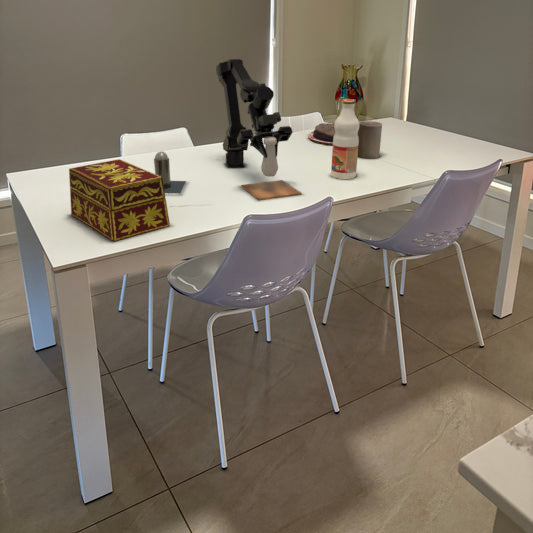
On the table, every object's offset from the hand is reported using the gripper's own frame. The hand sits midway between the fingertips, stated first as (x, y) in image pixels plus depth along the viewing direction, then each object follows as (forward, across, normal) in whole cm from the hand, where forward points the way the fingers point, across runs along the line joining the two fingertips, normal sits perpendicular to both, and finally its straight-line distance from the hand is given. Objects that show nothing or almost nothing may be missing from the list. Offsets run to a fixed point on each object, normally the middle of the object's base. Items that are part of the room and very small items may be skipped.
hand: (271, 157), depth 199 cm
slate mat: (-3, -34, +21) cm, 40 cm away
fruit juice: (+4, +33, +14) cm, 36 cm away
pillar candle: (-12, +57, +30) cm, 65 cm away
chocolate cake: (-33, +60, +52) cm, 86 cm away
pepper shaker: (-4, -34, +20) cm, 40 cm away
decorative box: (+15, -54, +3) cm, 56 cm away
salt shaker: (+4, 0, +6) cm, 7 cm away
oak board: (+8, 0, +10) cm, 12 cm away
